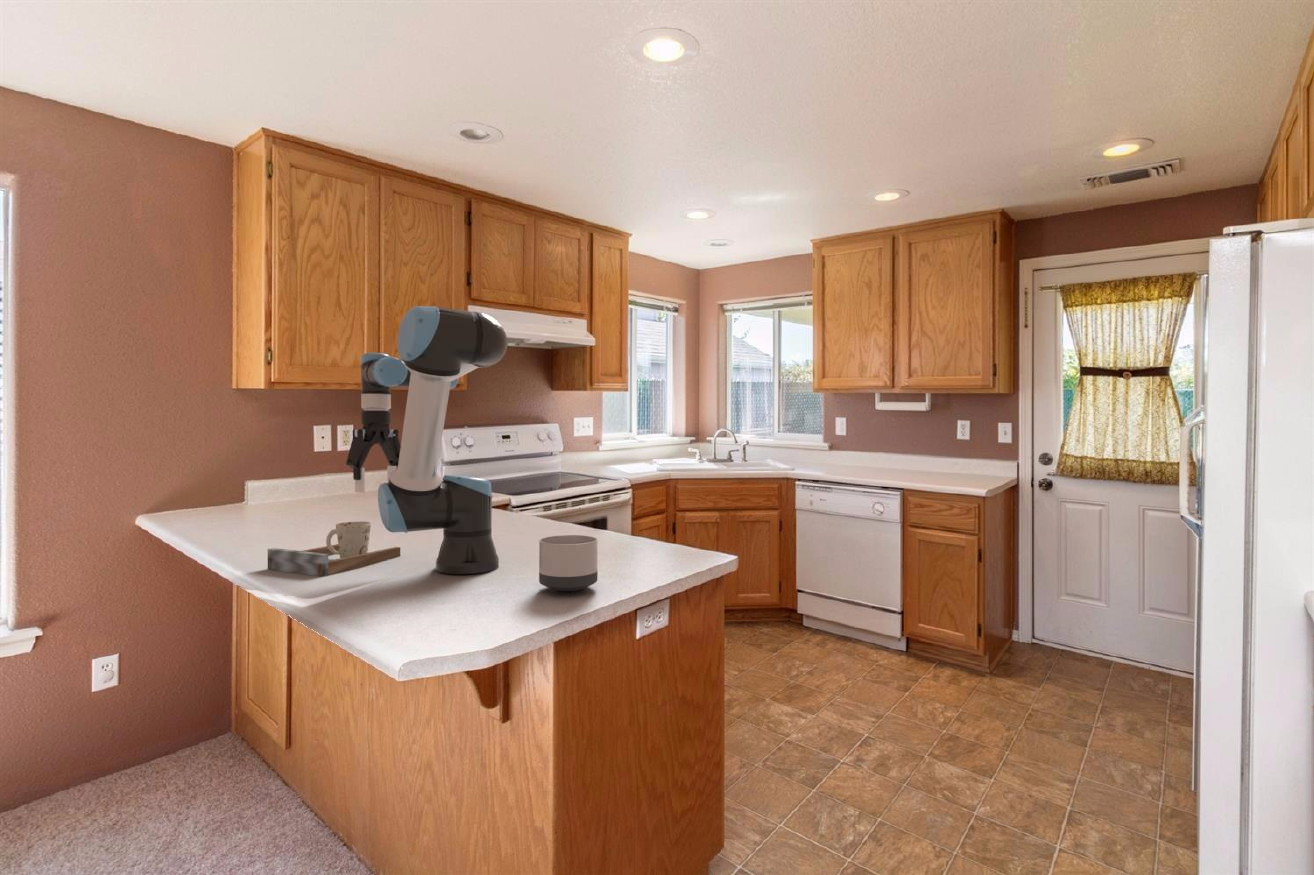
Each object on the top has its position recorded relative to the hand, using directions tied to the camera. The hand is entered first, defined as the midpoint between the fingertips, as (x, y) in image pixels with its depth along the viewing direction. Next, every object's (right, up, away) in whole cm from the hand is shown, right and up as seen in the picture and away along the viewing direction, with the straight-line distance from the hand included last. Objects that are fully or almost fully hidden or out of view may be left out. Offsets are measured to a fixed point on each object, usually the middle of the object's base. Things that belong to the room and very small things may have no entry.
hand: (376, 490), depth 182 cm
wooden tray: (-5, -18, -12) cm, 22 cm away
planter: (+58, -19, -35) cm, 70 cm away
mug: (-4, -18, -9) cm, 21 cm away
